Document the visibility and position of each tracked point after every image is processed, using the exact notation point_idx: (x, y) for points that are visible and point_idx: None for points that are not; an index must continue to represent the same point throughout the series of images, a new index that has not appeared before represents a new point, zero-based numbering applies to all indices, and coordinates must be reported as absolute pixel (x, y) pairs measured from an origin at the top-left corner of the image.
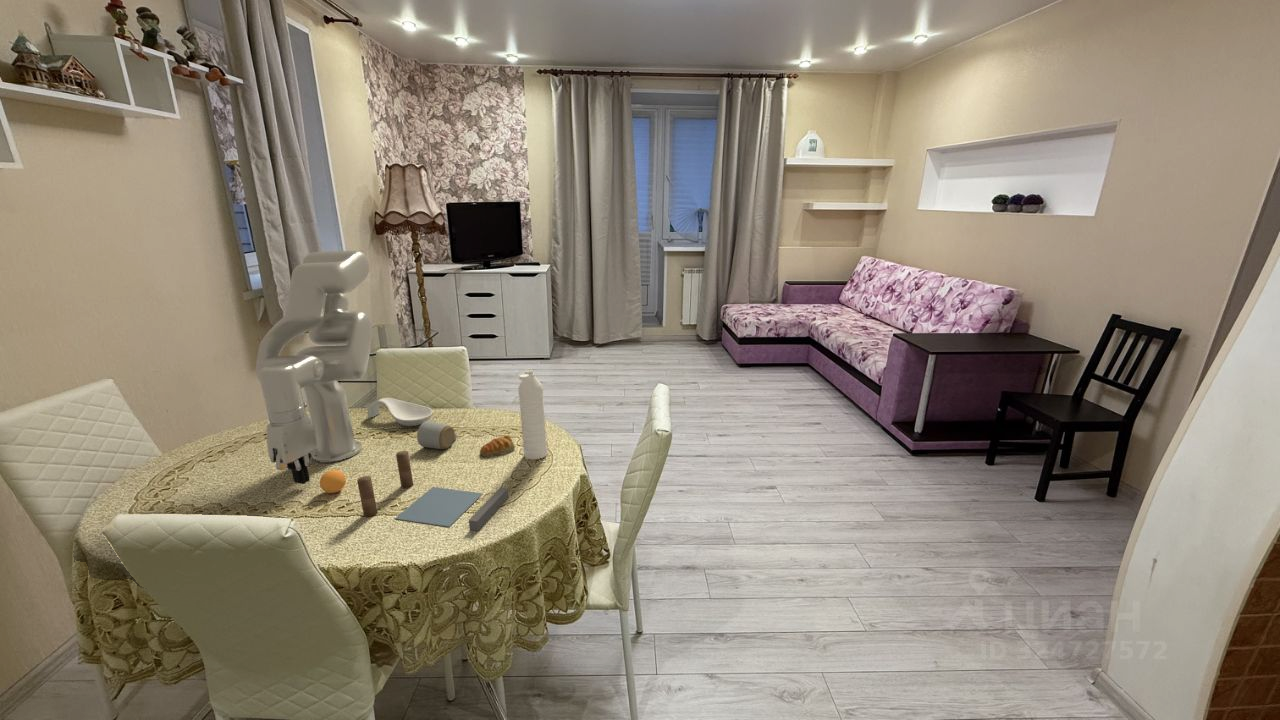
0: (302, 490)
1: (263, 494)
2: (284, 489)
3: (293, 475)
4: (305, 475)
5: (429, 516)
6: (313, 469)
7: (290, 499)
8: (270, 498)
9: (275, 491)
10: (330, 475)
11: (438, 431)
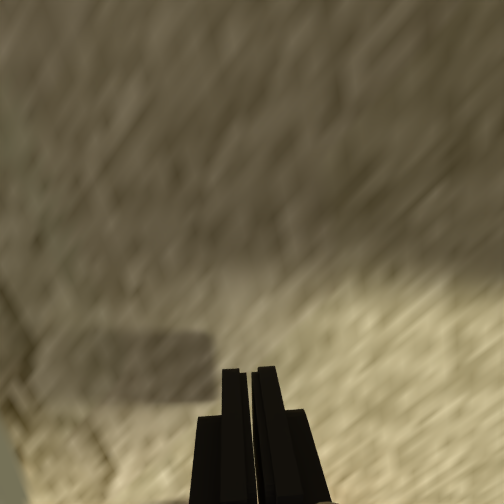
0: (215, 391)
1: (70, 172)
2: (188, 268)
3: (192, 474)
4: (258, 496)
5: None
6: (499, 216)
7: (105, 412)
8: (55, 283)
9: (142, 227)
10: None
11: None
